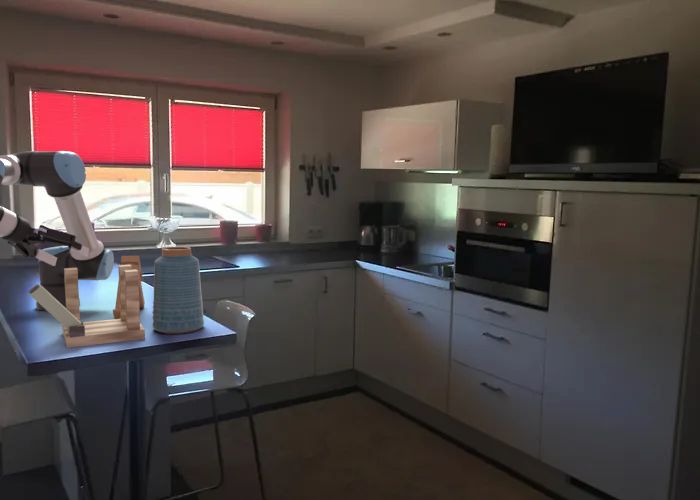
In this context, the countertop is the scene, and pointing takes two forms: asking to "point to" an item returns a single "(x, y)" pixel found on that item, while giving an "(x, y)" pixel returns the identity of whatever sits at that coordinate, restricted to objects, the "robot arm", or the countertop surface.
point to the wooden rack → (105, 329)
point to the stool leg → (54, 307)
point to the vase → (177, 292)
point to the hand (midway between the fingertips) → (71, 257)
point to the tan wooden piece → (136, 265)
